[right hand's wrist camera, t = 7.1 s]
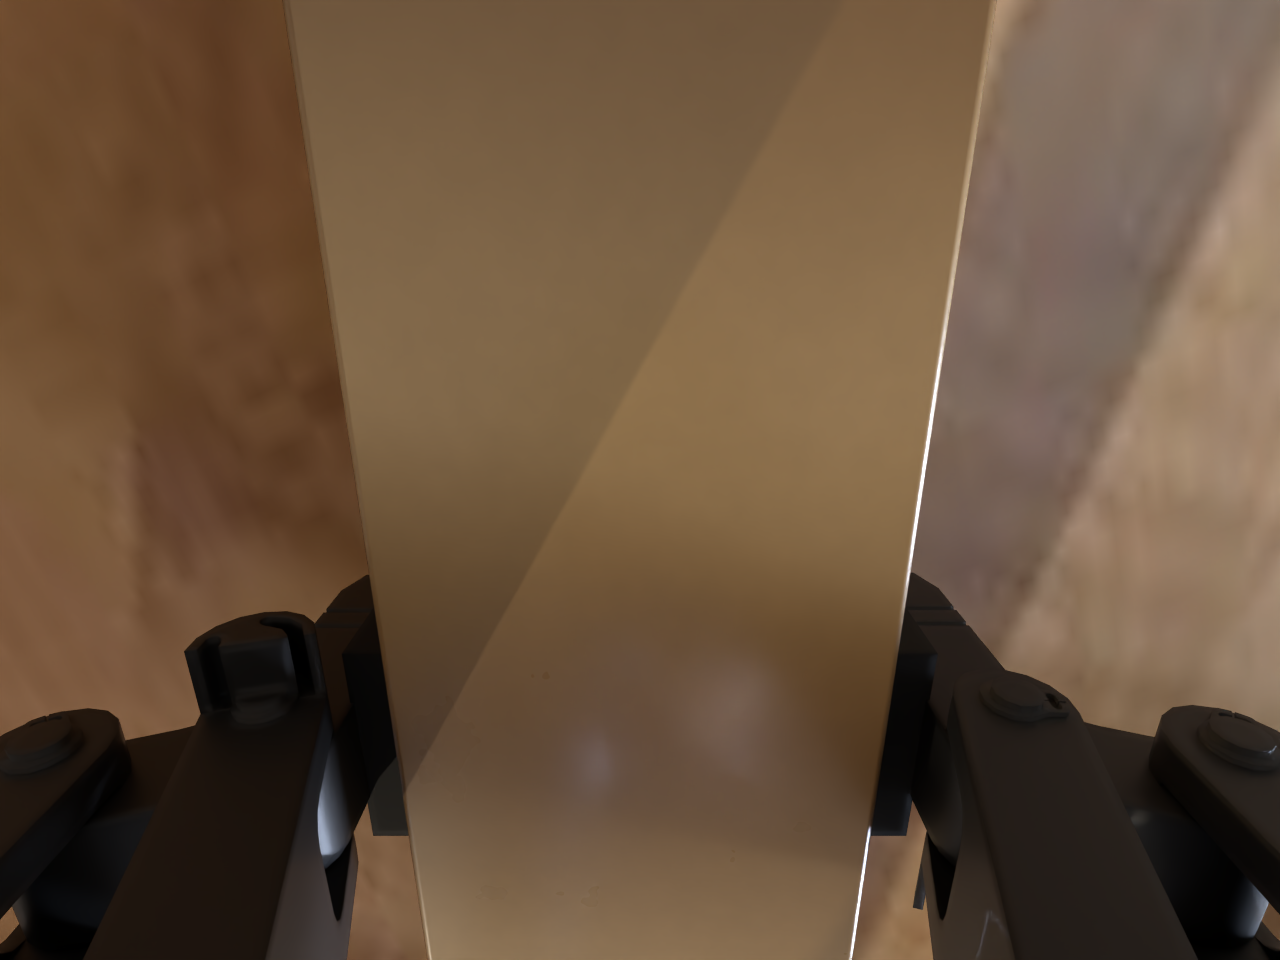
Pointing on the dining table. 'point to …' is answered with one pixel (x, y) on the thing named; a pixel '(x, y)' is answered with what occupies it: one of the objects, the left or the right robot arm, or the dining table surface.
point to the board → (639, 439)
